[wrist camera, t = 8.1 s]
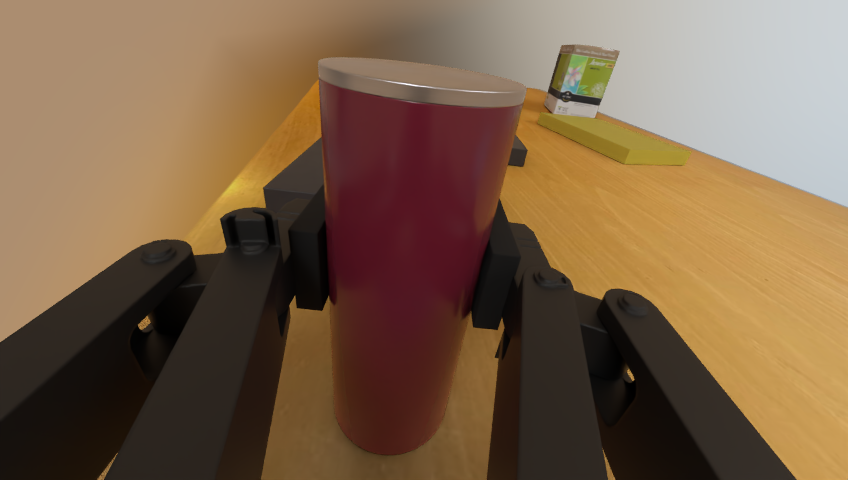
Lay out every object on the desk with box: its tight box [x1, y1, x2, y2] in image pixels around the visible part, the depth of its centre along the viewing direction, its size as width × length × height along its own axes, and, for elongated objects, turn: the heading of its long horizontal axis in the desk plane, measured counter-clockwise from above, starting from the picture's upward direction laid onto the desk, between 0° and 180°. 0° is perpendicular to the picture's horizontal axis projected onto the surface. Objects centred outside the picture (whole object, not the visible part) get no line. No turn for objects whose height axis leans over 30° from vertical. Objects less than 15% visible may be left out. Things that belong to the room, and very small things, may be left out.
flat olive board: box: [538, 112, 691, 165], centre depth 60 cm, size 12×2×24 cm
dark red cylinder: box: [318, 57, 527, 455], centre depth 11 cm, size 5×5×12 cm
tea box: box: [544, 45, 619, 118], centre depth 81 cm, size 15×10×15 cm, turn 171°
